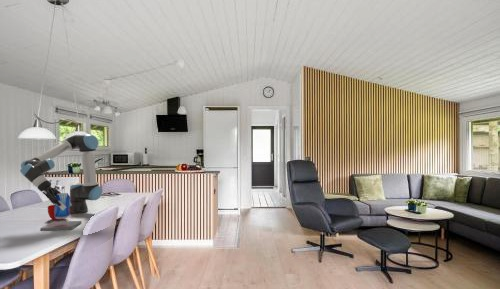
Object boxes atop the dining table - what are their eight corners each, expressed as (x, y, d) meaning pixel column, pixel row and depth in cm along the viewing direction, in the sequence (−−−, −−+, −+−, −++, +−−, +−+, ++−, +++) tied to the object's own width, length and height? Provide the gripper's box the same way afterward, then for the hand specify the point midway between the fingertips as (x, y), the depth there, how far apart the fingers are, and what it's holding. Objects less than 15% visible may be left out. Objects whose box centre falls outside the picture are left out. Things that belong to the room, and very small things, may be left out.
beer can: (53, 217, 198) (54, 193, 199) (67, 215, 203) (68, 192, 204) (55, 219, 192) (56, 195, 192) (69, 218, 197) (71, 194, 197)
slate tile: (53, 223, 205) (53, 221, 205) (81, 223, 208) (81, 220, 208) (40, 230, 187) (40, 228, 187) (71, 229, 191) (71, 227, 191)
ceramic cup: (62, 222, 209) (63, 208, 210) (42, 220, 213) (43, 206, 213) (76, 218, 222) (77, 205, 222) (57, 216, 226) (58, 203, 226)
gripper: (45, 185, 206) (69, 208, 208) (28, 189, 185) (55, 214, 187) (54, 178, 207) (78, 201, 209) (38, 181, 186) (65, 206, 189)
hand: (67, 207), depth 198 cm, fingers closed on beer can, 8 cm apart
